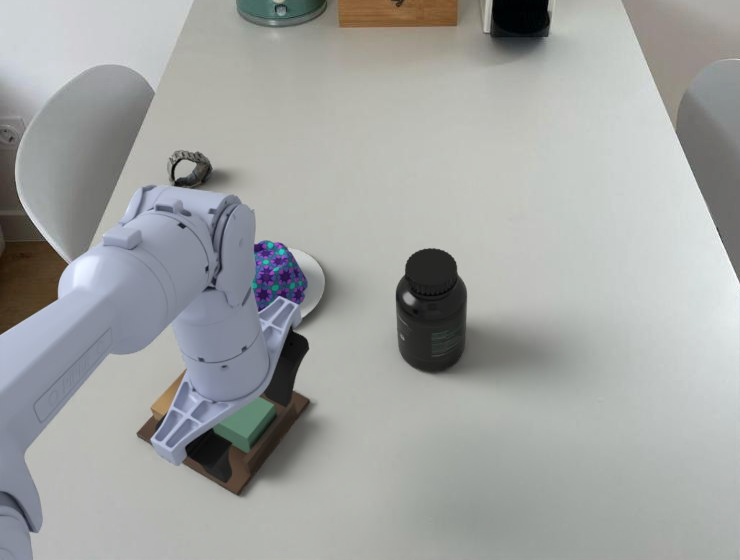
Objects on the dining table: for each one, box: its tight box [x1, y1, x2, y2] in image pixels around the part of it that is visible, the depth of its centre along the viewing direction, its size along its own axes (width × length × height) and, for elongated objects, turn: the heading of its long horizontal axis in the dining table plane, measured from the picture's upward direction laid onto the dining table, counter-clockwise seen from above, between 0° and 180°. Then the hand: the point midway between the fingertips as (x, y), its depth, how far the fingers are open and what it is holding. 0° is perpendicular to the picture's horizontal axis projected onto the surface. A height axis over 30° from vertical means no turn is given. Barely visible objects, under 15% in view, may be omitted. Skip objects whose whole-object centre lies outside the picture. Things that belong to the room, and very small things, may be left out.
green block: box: [212, 397, 277, 453], centre depth 74 cm, size 4×5×3 cm
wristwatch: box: [166, 149, 214, 189], centre depth 101 cm, size 3×5×5 cm
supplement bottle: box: [395, 247, 468, 373], centre depth 78 cm, size 7×7×12 cm
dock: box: [135, 367, 311, 497], centre depth 76 cm, size 11×12×3 cm
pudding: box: [252, 239, 326, 319], centre depth 87 cm, size 12×12×5 cm
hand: (249, 435), depth 65 cm, fingers open, 7 cm apart
